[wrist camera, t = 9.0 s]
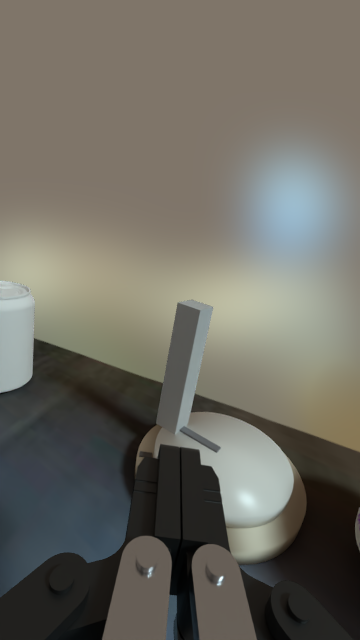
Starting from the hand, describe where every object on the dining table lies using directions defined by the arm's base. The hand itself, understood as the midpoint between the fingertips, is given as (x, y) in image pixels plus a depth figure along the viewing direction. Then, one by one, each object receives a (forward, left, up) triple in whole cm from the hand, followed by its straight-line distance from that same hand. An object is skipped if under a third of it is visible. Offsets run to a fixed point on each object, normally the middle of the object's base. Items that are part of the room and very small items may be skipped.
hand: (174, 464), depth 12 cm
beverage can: (-21, +26, -14) cm, 36 cm away
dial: (+6, +15, -12) cm, 20 cm away
